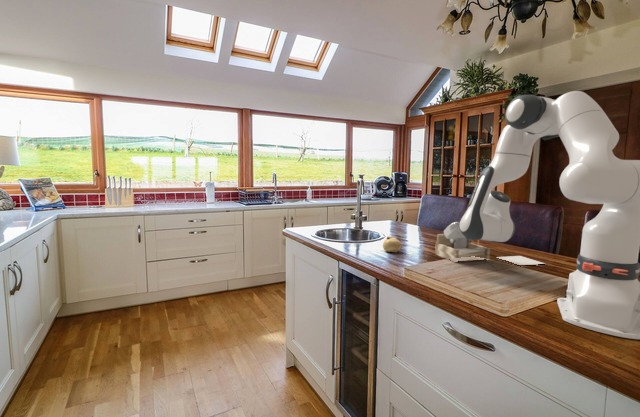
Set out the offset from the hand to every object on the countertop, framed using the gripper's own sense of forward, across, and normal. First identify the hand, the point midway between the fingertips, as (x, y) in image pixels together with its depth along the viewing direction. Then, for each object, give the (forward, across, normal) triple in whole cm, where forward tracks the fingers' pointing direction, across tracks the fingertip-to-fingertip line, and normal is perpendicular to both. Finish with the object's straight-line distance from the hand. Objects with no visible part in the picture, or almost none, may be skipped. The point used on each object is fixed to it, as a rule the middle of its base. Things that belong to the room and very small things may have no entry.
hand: (459, 241), depth 140 cm
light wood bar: (0, 0, -9) cm, 9 cm away
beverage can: (+4, 0, -5) cm, 7 cm away
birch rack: (+3, 0, -6) cm, 7 cm away
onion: (+14, -25, +4) cm, 29 cm away
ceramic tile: (-4, +20, -13) cm, 24 cm away
